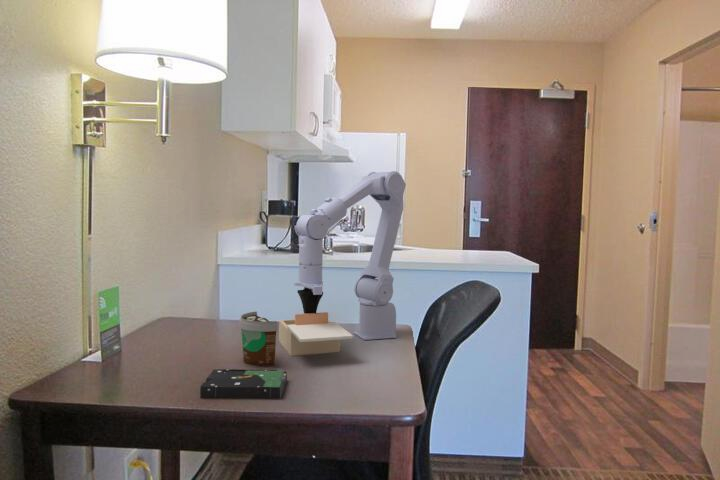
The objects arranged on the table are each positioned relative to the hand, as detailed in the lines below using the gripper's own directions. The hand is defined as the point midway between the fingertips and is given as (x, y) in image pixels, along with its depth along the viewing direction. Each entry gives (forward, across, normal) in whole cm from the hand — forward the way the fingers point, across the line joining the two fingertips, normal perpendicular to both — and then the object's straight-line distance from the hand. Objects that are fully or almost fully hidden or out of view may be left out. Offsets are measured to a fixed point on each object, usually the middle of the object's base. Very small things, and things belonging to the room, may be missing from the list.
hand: (309, 319), depth 131 cm
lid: (+1, +8, 0) cm, 8 cm away
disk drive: (+8, +25, -19) cm, 32 cm away
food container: (+7, +8, -15) cm, 18 cm away
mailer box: (+7, -1, 0) cm, 7 cm away
